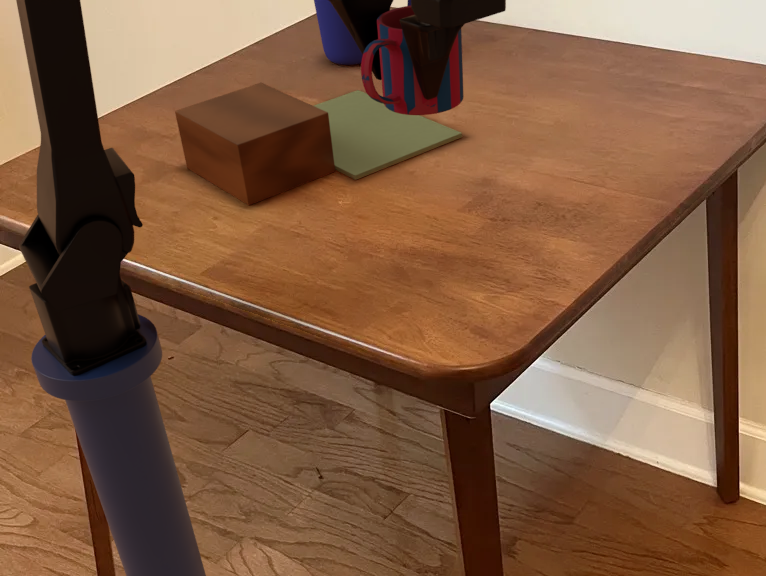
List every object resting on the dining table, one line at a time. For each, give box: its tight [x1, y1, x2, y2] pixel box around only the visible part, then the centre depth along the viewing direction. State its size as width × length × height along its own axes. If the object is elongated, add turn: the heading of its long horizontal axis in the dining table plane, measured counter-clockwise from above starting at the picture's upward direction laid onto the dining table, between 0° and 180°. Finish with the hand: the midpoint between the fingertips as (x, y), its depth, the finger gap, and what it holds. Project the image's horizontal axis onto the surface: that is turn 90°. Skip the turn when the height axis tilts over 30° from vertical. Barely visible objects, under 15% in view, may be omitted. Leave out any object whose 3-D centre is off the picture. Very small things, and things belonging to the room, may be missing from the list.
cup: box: [360, 5, 465, 116], centre depth 83 cm, size 7×10×7 cm
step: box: [174, 82, 336, 206], centre depth 100 cm, size 10×12×6 cm
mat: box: [313, 89, 463, 180], centre depth 107 cm, size 14×18×1 cm
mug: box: [313, 0, 411, 66], centre depth 123 cm, size 8×12×10 cm
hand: (406, 88), depth 84 cm, fingers closed on cup, 6 cm apart
